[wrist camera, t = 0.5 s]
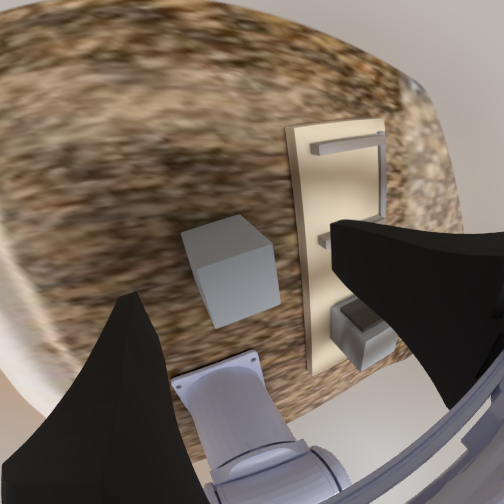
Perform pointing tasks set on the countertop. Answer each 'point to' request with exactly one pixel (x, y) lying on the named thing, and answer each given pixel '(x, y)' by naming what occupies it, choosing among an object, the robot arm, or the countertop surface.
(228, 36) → the countertop surface
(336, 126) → the rail
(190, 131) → the countertop surface
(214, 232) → the finger part
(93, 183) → the countertop surface
